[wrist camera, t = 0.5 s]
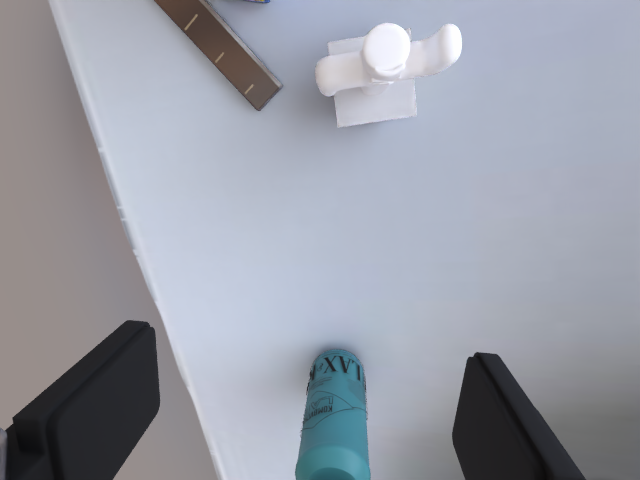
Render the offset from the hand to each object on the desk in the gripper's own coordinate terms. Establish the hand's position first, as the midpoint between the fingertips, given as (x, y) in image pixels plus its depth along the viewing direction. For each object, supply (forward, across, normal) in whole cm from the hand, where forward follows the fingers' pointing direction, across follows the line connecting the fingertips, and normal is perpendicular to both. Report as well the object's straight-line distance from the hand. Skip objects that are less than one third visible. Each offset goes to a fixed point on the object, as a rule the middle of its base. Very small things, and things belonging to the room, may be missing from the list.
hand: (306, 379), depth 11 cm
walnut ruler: (+30, +15, -17) cm, 37 cm away
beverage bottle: (+30, -2, +20) cm, 36 cm away
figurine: (+30, -3, -12) cm, 33 cm away
